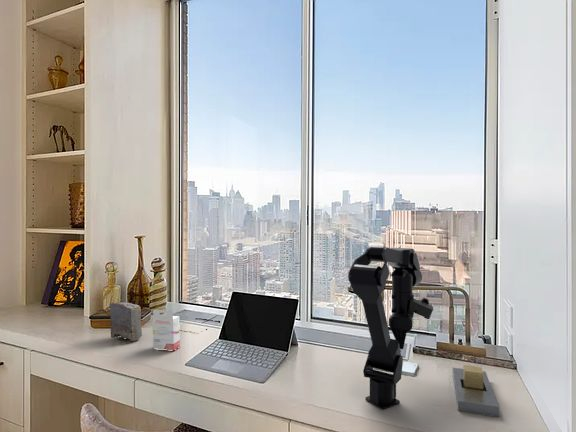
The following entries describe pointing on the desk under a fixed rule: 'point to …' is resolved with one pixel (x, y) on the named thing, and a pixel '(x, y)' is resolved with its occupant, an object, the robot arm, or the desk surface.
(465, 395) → the grey flat rectangular block
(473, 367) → the brass block
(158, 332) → the ink cartridge box
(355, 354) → the desk surface
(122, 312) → the geological specimen
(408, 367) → the hard drive
